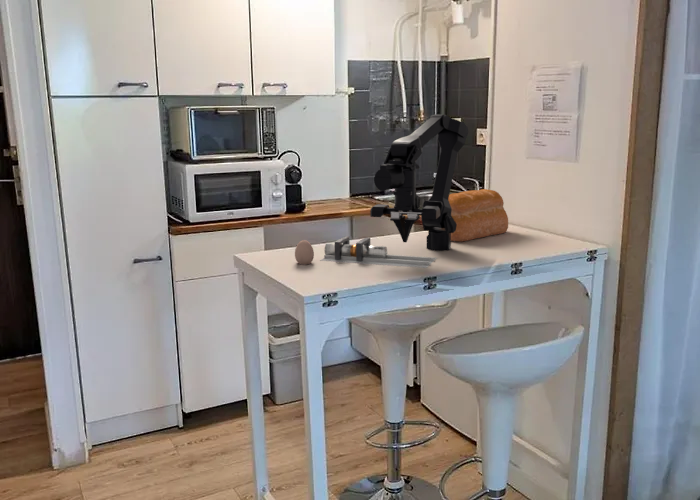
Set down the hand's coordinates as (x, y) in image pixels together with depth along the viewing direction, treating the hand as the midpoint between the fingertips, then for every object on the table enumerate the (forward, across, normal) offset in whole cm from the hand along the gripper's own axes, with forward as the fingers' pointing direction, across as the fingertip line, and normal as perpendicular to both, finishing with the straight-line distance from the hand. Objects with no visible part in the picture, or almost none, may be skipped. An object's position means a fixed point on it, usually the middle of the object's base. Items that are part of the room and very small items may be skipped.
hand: (405, 242), depth 185 cm
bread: (+6, -11, -43) cm, 45 cm away
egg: (+6, +26, +11) cm, 29 cm away
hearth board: (+6, +8, +1) cm, 10 cm away
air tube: (+5, +15, +1) cm, 16 cm away
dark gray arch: (+5, +12, +1) cm, 13 cm away
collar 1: (+5, +19, +1) cm, 19 cm away
